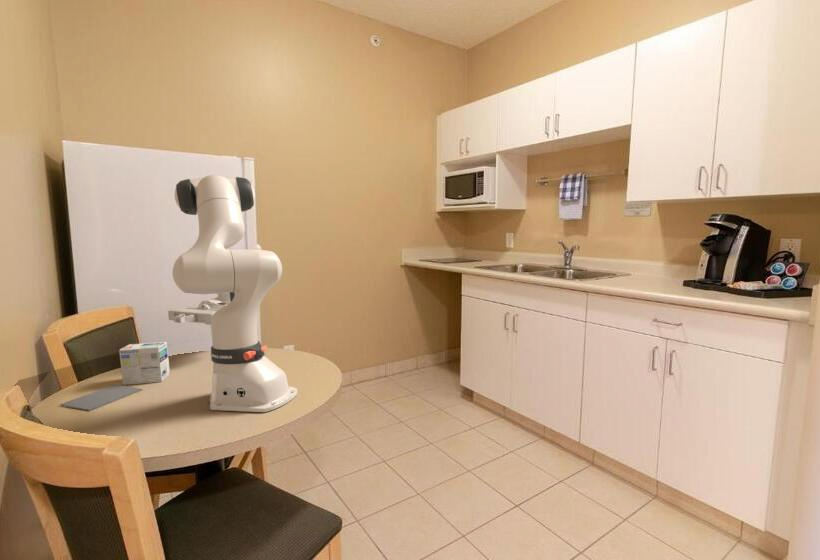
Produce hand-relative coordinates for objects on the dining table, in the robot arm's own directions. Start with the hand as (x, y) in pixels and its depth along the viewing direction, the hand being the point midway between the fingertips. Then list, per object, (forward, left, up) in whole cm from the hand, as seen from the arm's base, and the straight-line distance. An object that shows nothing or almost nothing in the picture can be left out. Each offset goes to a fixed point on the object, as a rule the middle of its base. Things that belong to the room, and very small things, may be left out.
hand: (177, 320), depth 131 cm
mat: (-1, +26, -16) cm, 30 cm away
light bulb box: (0, +12, -16) cm, 20 cm away
